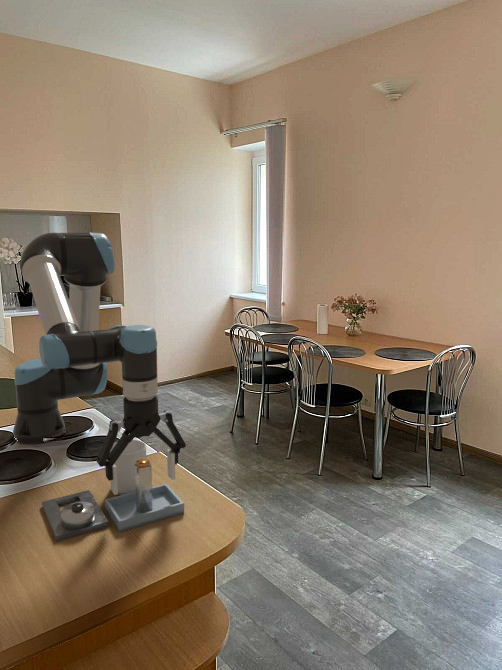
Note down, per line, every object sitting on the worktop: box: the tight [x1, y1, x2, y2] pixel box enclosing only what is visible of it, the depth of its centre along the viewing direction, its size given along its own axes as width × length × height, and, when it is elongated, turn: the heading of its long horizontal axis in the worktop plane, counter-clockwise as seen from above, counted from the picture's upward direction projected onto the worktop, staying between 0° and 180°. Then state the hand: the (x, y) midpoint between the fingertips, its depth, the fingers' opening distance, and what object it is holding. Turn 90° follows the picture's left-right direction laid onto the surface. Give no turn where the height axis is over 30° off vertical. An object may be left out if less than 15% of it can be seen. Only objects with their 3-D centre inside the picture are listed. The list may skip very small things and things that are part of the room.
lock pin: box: [134, 458, 153, 513], centre depth 121 cm, size 4×4×12 cm
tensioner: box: [41, 489, 110, 542], centre depth 120 cm, size 16×11×5 cm
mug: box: [110, 439, 147, 496], centre depth 133 cm, size 12×9×11 cm
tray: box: [104, 483, 185, 533], centre depth 122 cm, size 15×11×2 cm
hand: (143, 484), depth 121 cm, fingers open, 13 cm apart
